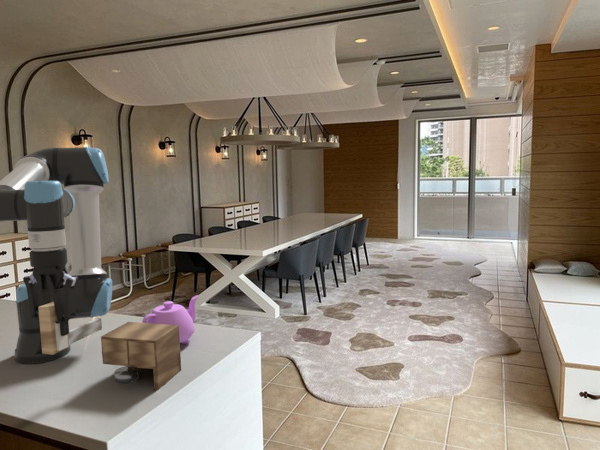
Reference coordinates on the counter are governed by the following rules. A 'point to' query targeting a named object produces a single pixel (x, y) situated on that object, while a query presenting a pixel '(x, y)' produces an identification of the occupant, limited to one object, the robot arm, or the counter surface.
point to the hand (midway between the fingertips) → (55, 347)
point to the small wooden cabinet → (144, 349)
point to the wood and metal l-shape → (48, 329)
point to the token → (126, 374)
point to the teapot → (175, 318)
